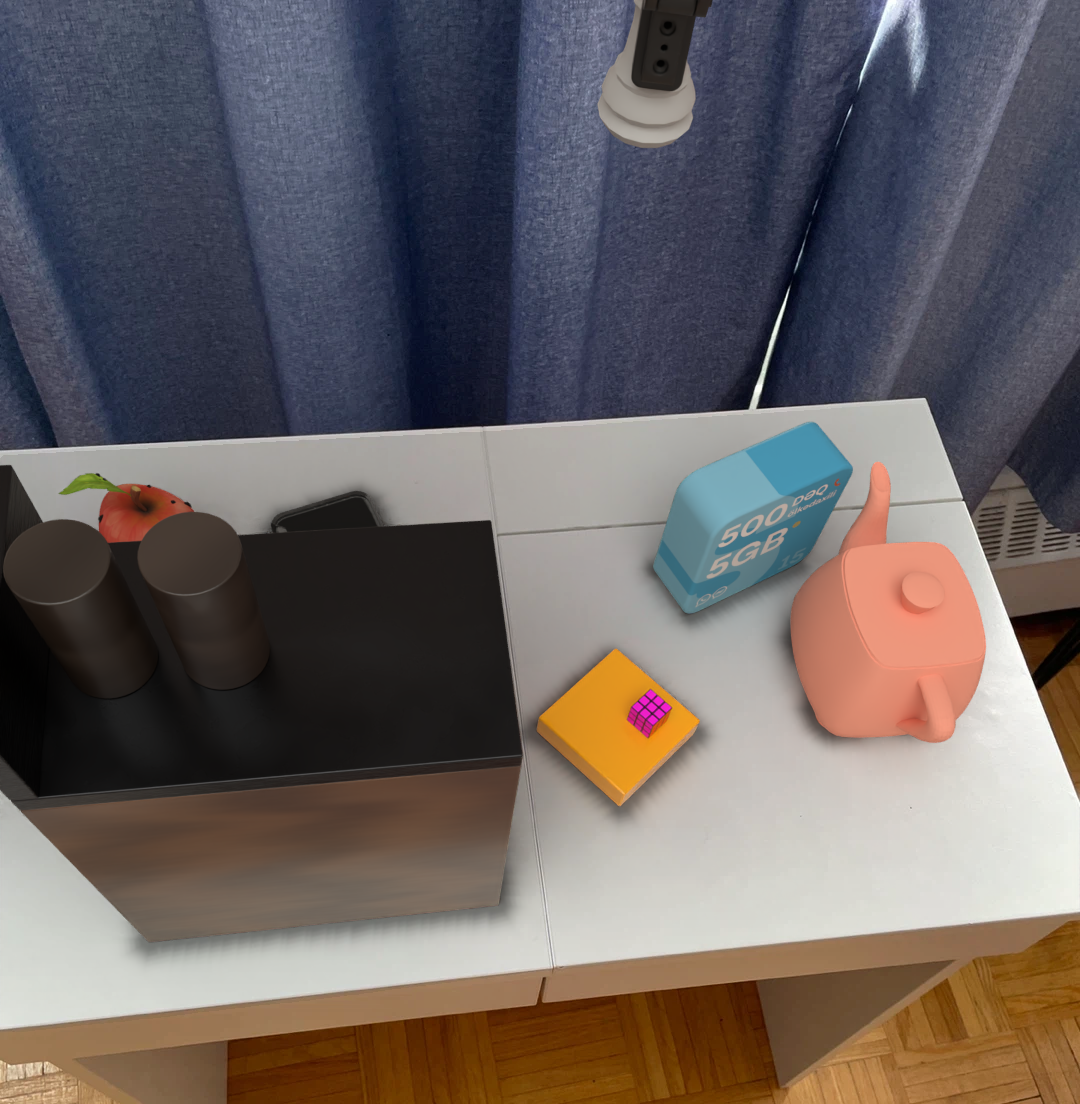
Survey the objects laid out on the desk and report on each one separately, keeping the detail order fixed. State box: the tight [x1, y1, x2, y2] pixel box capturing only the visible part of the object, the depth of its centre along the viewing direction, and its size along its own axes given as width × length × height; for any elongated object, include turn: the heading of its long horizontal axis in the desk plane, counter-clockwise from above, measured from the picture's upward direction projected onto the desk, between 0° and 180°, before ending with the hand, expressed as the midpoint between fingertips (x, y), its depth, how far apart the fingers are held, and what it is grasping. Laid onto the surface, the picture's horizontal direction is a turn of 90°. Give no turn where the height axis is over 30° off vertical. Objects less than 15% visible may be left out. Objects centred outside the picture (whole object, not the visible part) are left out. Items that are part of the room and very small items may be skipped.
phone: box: [270, 490, 385, 533], centre depth 79 cm, size 8×1×15 cm
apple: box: [57, 472, 196, 543], centre depth 75 cm, size 8×7×10 cm
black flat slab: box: [0, 464, 524, 811], centre depth 48 cm, size 22×13×7 cm, turn 97°
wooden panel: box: [19, 765, 522, 943], centre depth 62 cm, size 22×13×23 cm, turn 97°
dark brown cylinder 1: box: [3, 518, 158, 699], centre depth 46 cm, size 4×4×8 cm
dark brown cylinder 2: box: [137, 511, 270, 690], centre depth 46 cm, size 4×4×8 cm
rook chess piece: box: [597, 0, 696, 149], centre depth 47 cm, size 4×4×8 cm
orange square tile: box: [536, 648, 701, 807], centre depth 75 cm, size 8×8×4 cm
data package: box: [652, 421, 854, 614], centre depth 78 cm, size 12×4×12 cm, turn 120°
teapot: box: [789, 461, 987, 744], centre depth 75 cm, size 20×12×12 cm, turn 8°
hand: (656, 53), depth 48 cm, fingers closed on rook chess piece, 3 cm apart
